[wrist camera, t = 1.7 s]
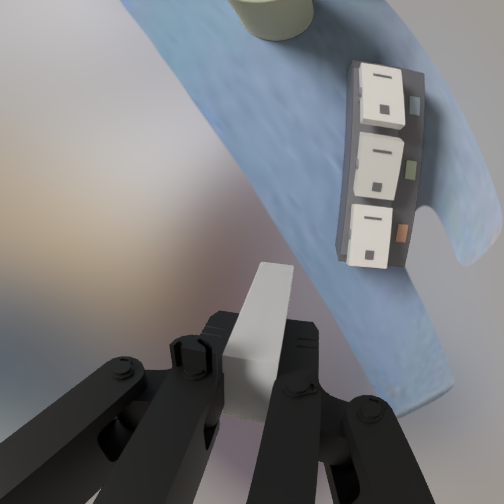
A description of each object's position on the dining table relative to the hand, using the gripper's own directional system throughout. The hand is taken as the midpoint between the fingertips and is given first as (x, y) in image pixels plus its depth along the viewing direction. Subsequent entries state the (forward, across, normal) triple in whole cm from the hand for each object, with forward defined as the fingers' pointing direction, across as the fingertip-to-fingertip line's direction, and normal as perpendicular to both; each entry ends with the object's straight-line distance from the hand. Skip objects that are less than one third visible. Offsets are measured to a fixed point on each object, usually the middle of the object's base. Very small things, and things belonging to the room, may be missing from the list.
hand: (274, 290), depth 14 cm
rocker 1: (+16, +8, +12) cm, 22 cm away
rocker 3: (+16, +8, -2) cm, 18 cm away
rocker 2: (+16, +8, +5) cm, 19 cm away
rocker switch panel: (+24, +9, +6) cm, 26 cm away
